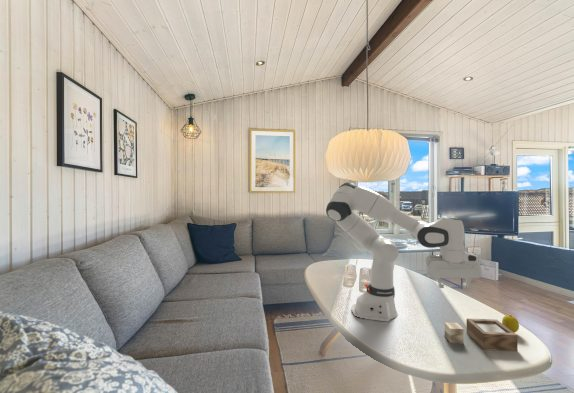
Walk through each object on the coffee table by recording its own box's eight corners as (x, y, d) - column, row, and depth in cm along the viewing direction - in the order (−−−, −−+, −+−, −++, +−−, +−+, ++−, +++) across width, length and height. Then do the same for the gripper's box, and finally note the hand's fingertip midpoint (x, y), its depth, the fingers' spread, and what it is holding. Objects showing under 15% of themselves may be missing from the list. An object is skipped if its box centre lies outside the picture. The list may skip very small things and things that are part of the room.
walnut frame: (483, 349, 101) (483, 333, 101) (466, 332, 113) (466, 318, 113) (517, 350, 100) (517, 335, 100) (496, 333, 112) (496, 319, 112)
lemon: (501, 333, 112) (501, 315, 112) (503, 328, 116) (502, 310, 116) (518, 338, 108) (518, 319, 108) (519, 332, 112) (519, 314, 112)
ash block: (450, 342, 106) (450, 328, 106) (444, 336, 111) (444, 322, 111) (463, 343, 106) (463, 329, 106) (457, 336, 111) (457, 322, 110)
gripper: (428, 257, 106) (429, 290, 107) (483, 257, 103) (484, 291, 104) (423, 253, 113) (423, 284, 113) (474, 253, 110) (475, 285, 110)
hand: (453, 287), depth 108 cm, fingers open, 8 cm apart
